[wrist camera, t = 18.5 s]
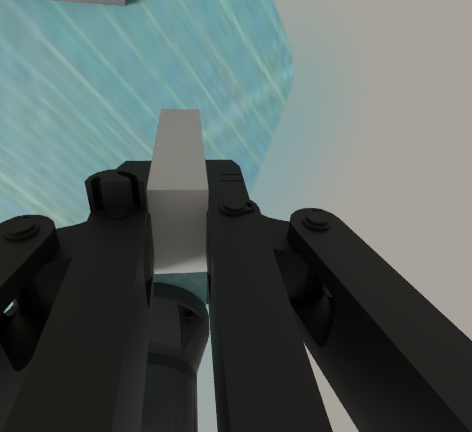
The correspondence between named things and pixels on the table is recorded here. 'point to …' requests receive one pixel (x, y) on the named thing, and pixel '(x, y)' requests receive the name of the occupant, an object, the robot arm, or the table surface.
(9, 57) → the table surface
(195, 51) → the table surface
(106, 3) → the domino board
